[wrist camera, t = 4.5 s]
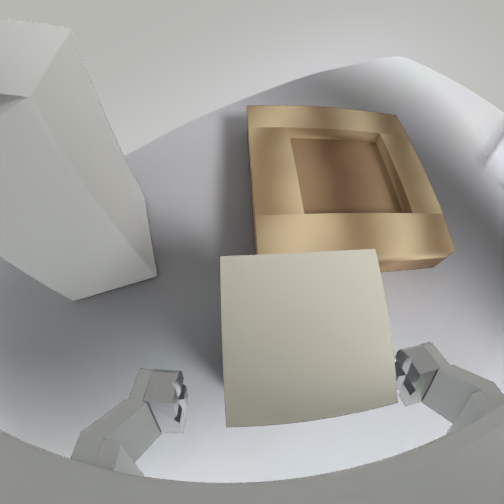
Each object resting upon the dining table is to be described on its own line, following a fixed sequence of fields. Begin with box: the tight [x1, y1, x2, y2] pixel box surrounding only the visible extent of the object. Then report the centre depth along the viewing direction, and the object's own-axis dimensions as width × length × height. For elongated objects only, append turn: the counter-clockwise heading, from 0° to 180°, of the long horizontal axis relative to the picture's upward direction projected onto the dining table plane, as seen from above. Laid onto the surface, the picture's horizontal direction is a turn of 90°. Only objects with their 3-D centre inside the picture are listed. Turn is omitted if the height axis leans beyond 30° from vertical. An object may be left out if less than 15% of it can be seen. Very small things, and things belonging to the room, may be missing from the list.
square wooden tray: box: [247, 105, 455, 272], centre depth 20 cm, size 14×14×3 cm
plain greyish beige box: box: [220, 249, 398, 427], centre depth 12 cm, size 5×5×10 cm
